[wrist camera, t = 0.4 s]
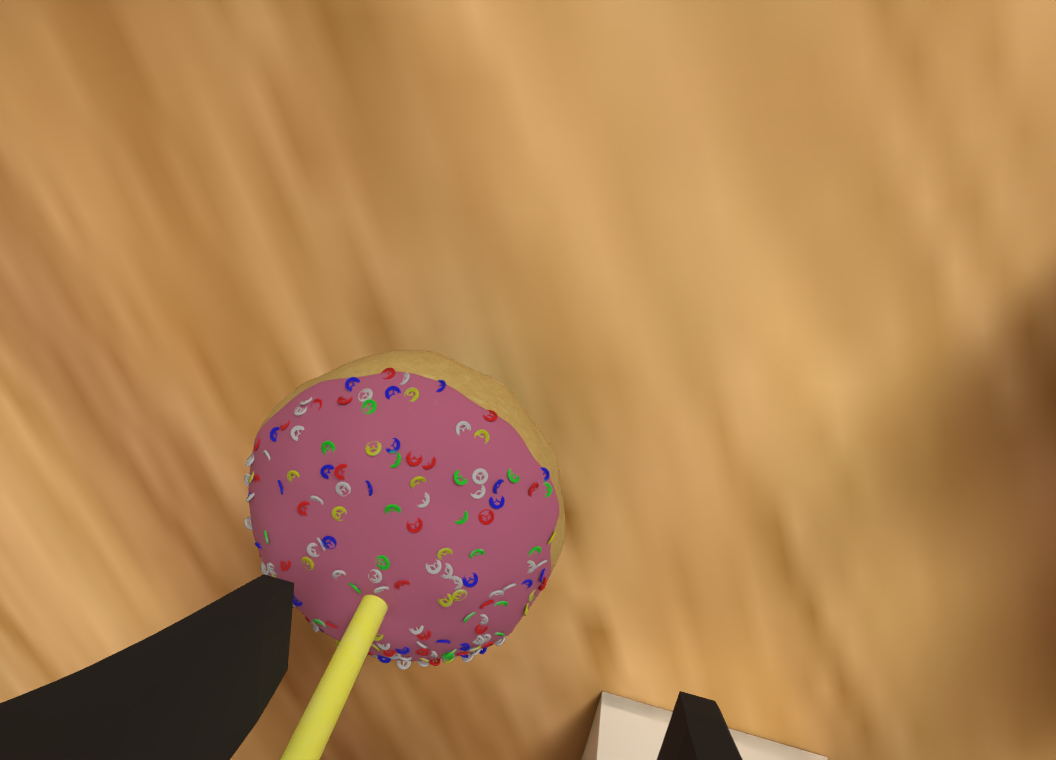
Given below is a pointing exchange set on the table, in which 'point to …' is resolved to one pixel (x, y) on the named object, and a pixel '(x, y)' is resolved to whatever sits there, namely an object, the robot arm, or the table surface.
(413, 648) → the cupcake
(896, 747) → the table surface
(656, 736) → the cream pot
